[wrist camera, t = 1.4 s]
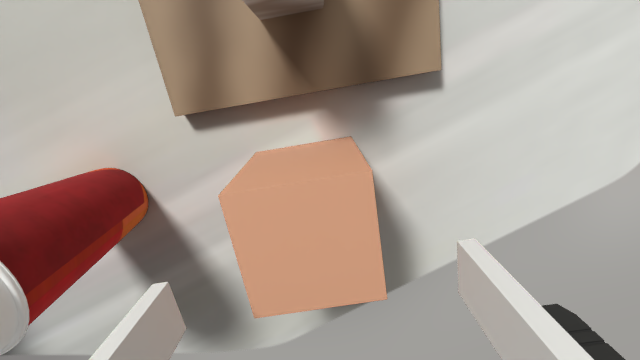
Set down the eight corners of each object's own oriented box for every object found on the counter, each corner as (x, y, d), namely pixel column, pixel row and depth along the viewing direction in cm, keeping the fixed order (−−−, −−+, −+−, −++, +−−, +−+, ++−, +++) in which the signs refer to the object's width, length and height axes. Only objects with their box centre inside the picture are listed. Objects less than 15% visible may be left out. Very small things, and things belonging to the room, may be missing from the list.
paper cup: (62, 153, 25) (-237, 235, 11) (155, 156, 25) (-32, 242, 12) (81, 236, 27) (-146, 385, 14) (166, 239, 27) (22, 388, 14)
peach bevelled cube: (276, 236, 27) (254, 318, 18) (256, 152, 25) (218, 195, 15) (362, 222, 27) (387, 299, 17) (350, 136, 24) (371, 170, 15)
